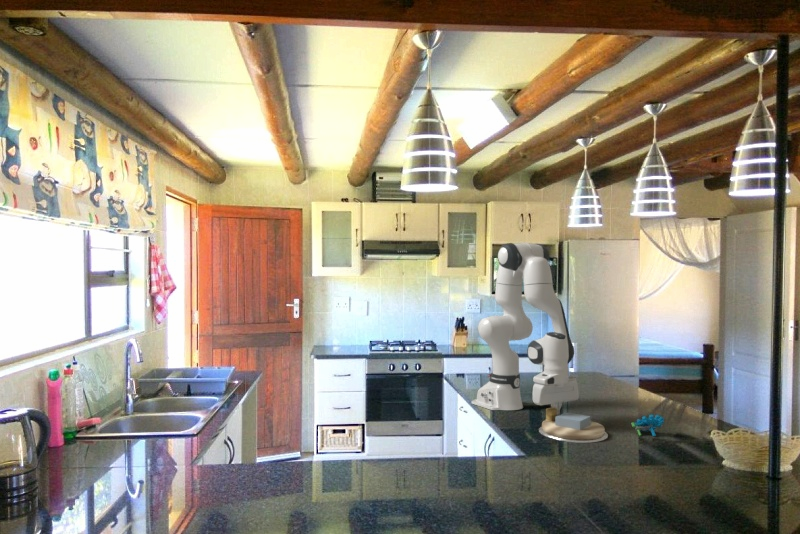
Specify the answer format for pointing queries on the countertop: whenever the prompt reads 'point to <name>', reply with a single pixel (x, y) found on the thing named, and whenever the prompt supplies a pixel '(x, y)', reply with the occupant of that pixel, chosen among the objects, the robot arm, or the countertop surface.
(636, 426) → the blue toy animal
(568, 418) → the cover
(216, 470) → the countertop surface
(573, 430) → the turntable
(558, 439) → the base
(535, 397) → the robot arm
